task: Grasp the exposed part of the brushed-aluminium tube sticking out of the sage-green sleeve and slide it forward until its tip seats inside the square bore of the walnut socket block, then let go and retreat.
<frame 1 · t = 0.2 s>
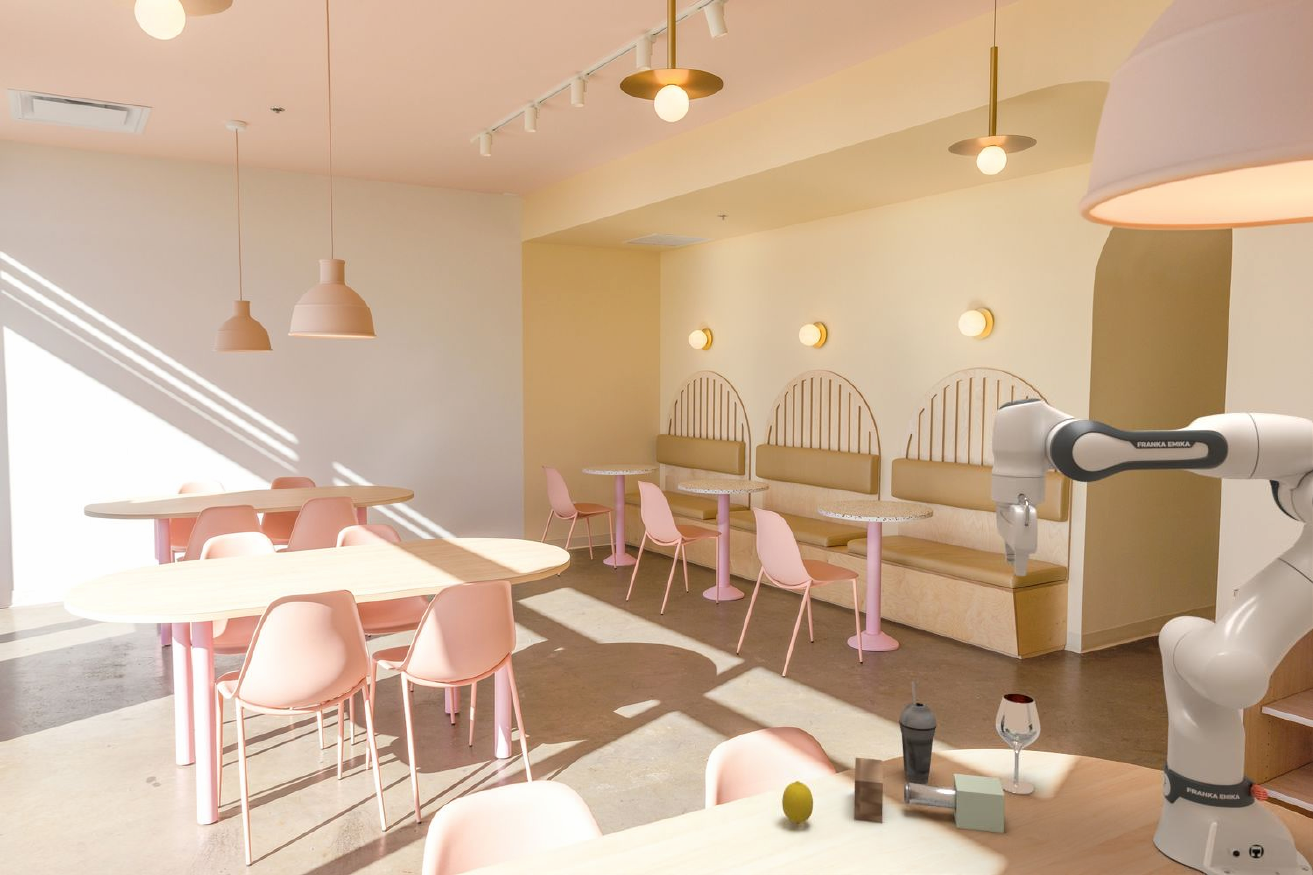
hand: (1015, 569, 155), 47 cm above the table, fingers open, 8 cm apart
lemon: (797, 825, 160), on the table
socket: (868, 808, 166), on the table
sleeve: (977, 820, 161), on the table
beverage cup: (916, 779, 178), on the table
tube: (949, 797, 162), point 4 cm above the table, slide at 0.0 cm
wineglass: (1016, 787, 174), on the table
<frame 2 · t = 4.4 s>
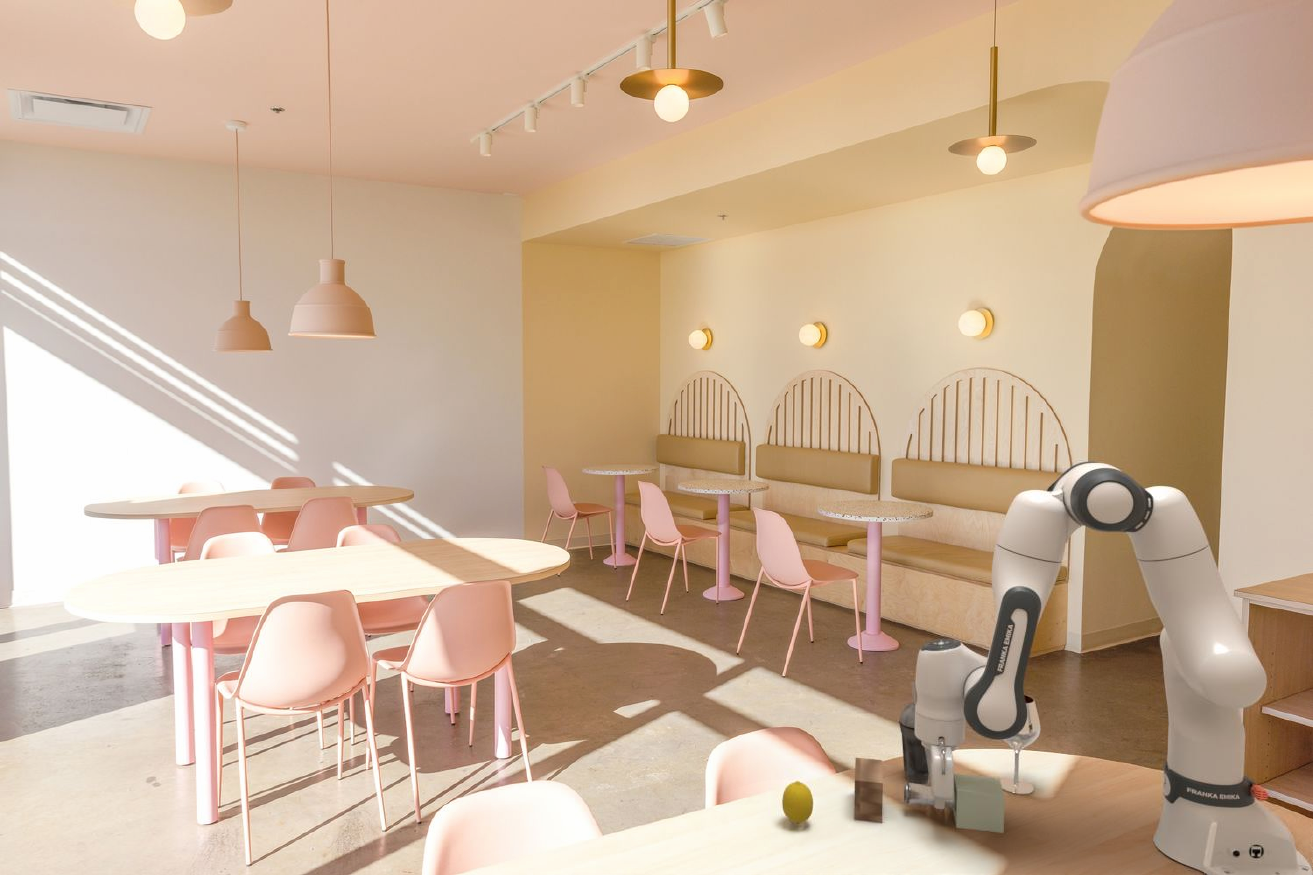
hand: (938, 800, 162), 3 cm above the table, fingers closed on tube, 4 cm apart
tube: (949, 797, 162), point 4 cm above the table, slide at 0.0 cm, touching gripper
everything else where it was.
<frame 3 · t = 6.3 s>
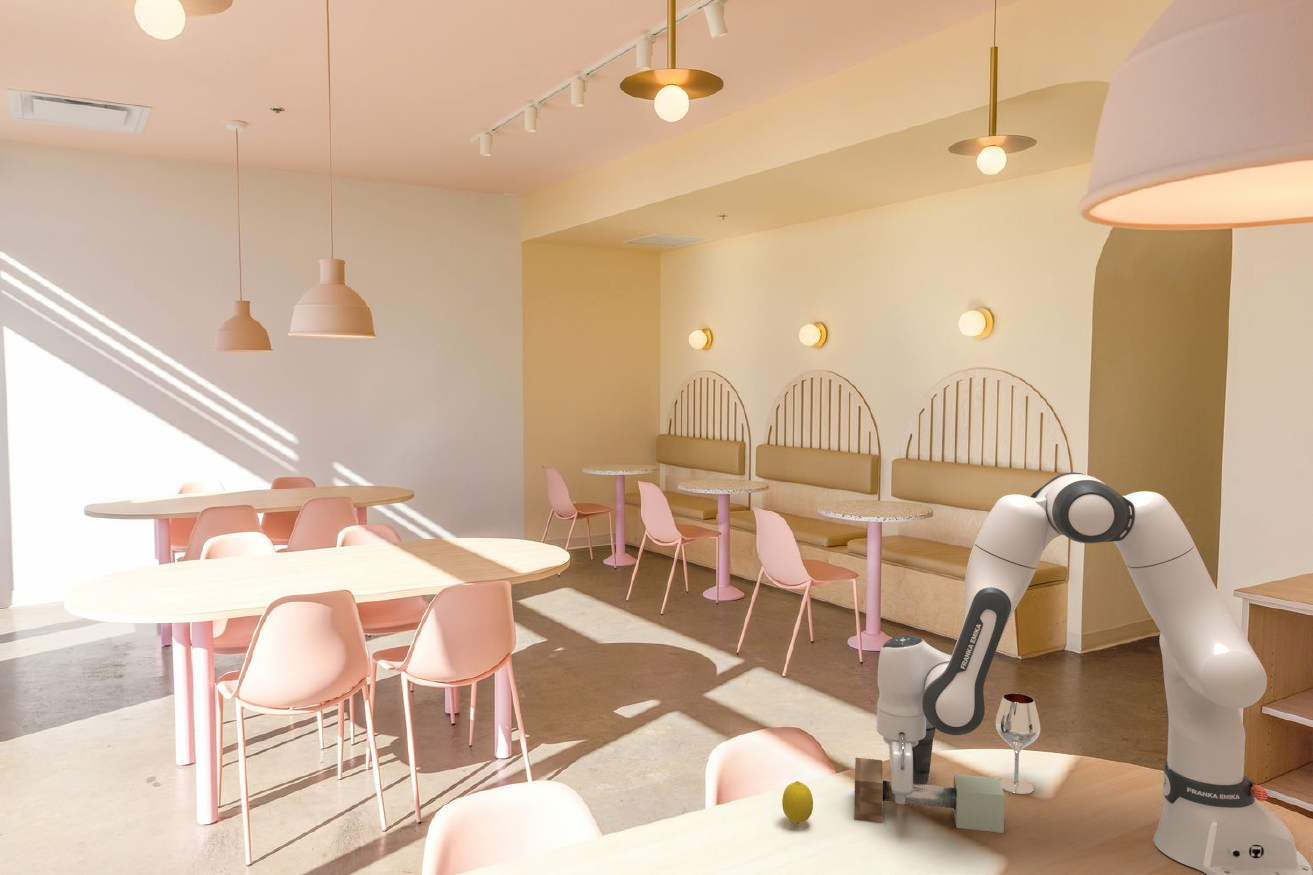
hand: (899, 795, 164), 3 cm above the table, fingers closed on tube, 4 cm apart
tube: (910, 793, 164), point 4 cm above the table, slide at 6.8 cm, touching gripper
everything else where it was.
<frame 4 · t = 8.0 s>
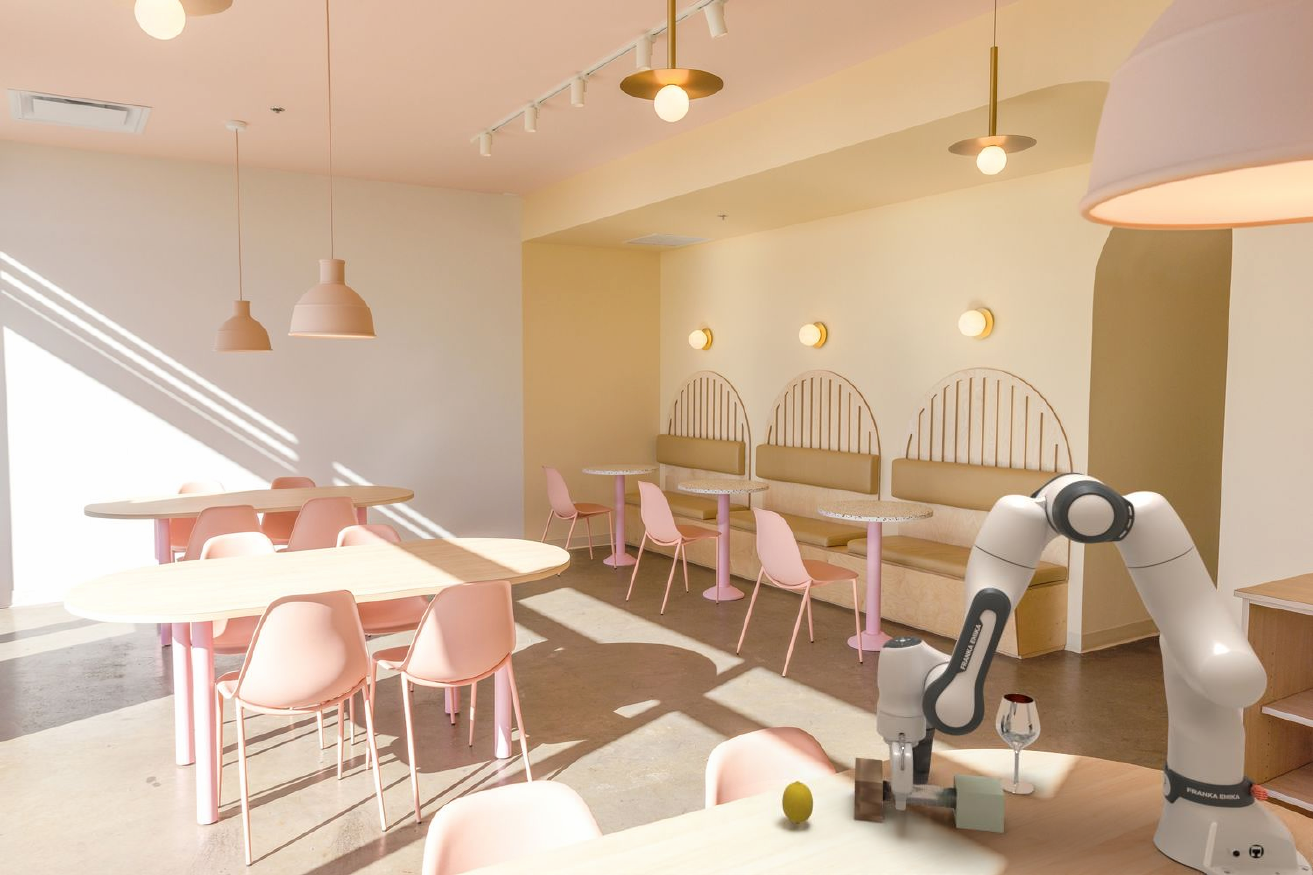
hand: (899, 796, 164), 3 cm above the table, fingers open, 8 cm apart
tube: (910, 793, 164), point 4 cm above the table, slide at 6.9 cm
everything else where it was.
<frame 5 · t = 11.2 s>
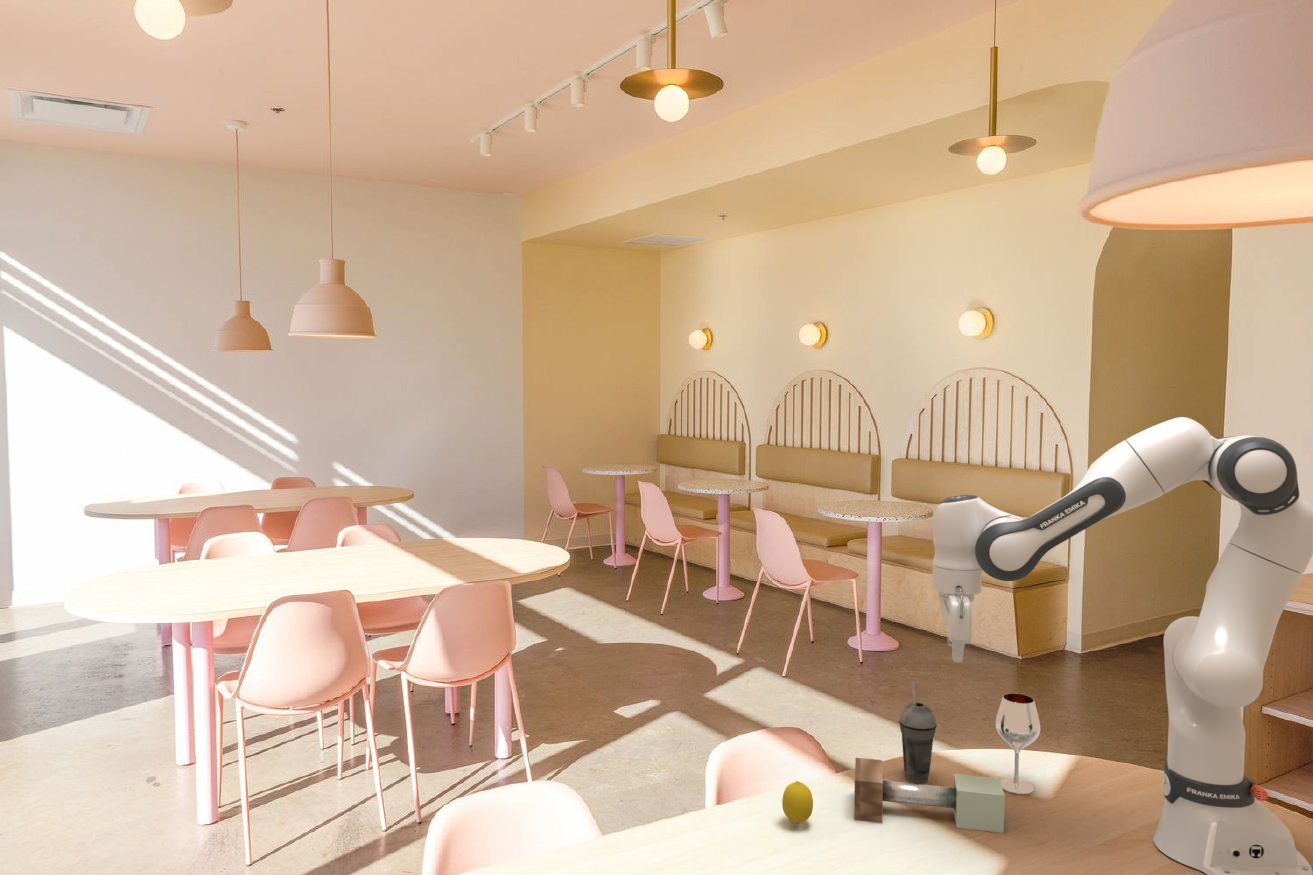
hand: (954, 653, 166), 29 cm above the table, fingers open, 8 cm apart
nothing on the table moved.
at the end: tube slide at 6.9 cm; the gripper is holding nothing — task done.
